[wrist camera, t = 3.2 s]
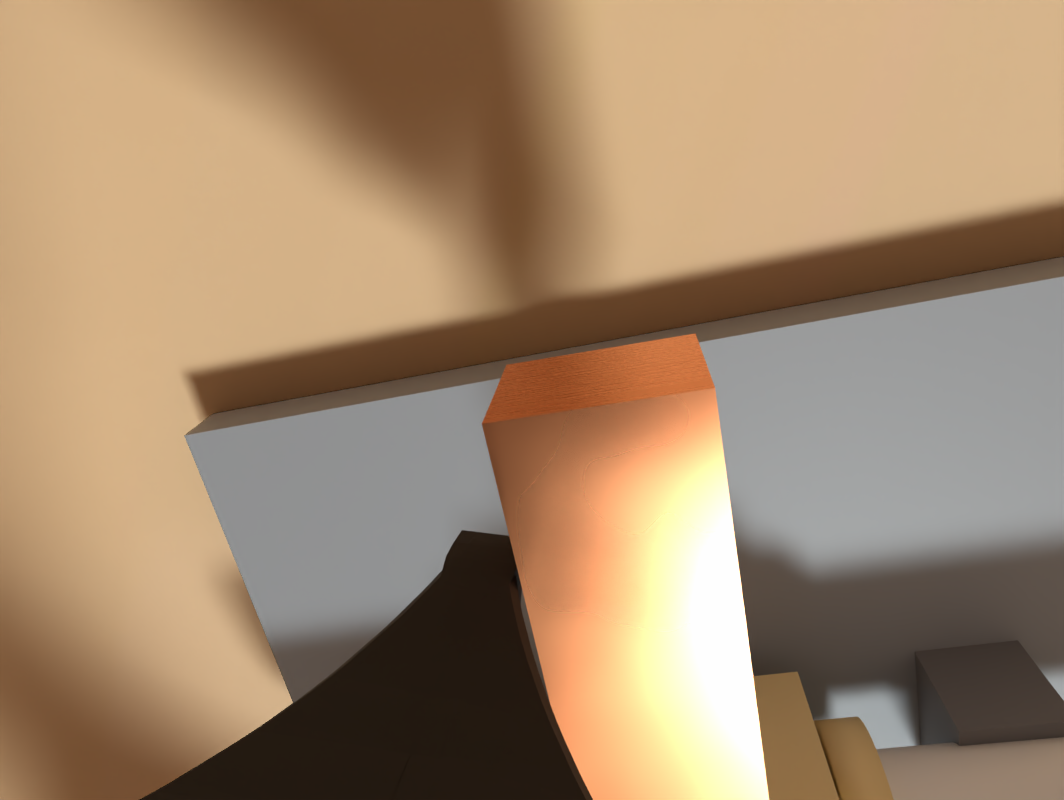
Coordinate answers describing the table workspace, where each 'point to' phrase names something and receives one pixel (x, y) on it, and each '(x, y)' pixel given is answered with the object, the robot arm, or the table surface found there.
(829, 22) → the table surface
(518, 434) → the valve lever
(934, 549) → the valve board
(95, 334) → the table surface
